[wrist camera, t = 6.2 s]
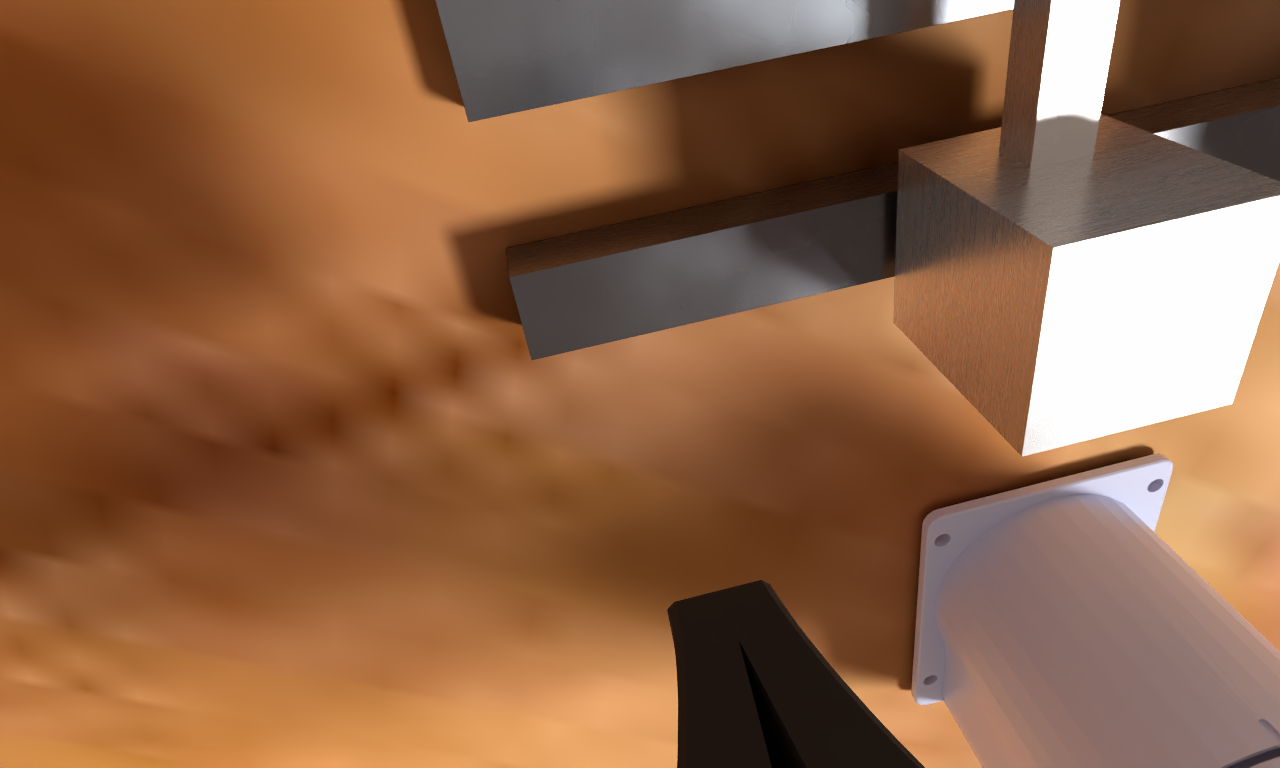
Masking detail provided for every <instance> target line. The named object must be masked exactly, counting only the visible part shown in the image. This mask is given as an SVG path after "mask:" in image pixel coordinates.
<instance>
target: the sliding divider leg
mask: <svg viewBox="0 0 1280 768" xmlns="http://www.w3.org/2000/svg"><path fill="white" fill-rule="evenodd" d="M1119 3H1120V0H1014V10H1013V19H1012V29H1011V39H1010V49H1009V58H1008V68H1007V78H1006V87H1005V97H1004V107H1003V117H1002V126H1001V127H999V128H995V129H990V130H985V131H981V132H976V133H972V134H967V135H963V136H958V137H954V138H949V139H944V140H940V141H935V142H931V143H926V144H922V145H917V146H913V147H908V148H903V149H899V161H898V193H897V225H896V257H895V290H894V322H893V323H894V324H895V325H896V326H897V327H898V328H899V329H900V330H901V331H902V332H903V333H904V334H905V335H906V336H907V337H908V338H909V339H910V340H911V341H912V342H913V343H914V344H915V346H916V347H917V348H918V349H919V350H920V351H921V352H922V353H923V354H924V355H925V356H926V357H927V358H928V359H929V360H930V361H931V362H932V363H933V364H934V365H935V366H936V367H937V368H938V370H939V371H940V372H941V373H942V374H943V375H944V376H945V377H946V378H947V379H948V380H949V381H950V382H951V383H952V384H953V385H954V386H955V387H956V388H957V389H958V390H959V391H960V392H961V394H962V395H963V396H964V397H965V398H966V399H967V400H968V401H969V402H970V403H971V404H972V405H973V406H974V407H975V408H976V409H977V410H978V411H979V412H980V413H981V414H982V415H983V416H984V418H985V419H986V420H987V421H988V422H989V423H990V424H991V425H992V426H993V427H994V428H995V429H996V430H997V431H998V432H999V433H1000V434H1001V435H1002V436H1003V437H1004V438H1005V439H1006V441H1007V442H1008V443H1009V444H1010V445H1011V446H1012V447H1013V448H1014V449H1015V450H1016V451H1017V452H1018V453H1019V454H1020V455H1021V456H1026V455H1030V454H1034V453H1038V452H1042V451H1046V450H1050V449H1054V448H1058V447H1062V446H1066V445H1070V444H1074V443H1078V442H1082V441H1086V440H1090V439H1094V438H1098V437H1102V436H1106V435H1110V434H1114V433H1118V432H1122V431H1126V430H1130V429H1134V428H1138V427H1142V426H1146V425H1150V424H1154V423H1158V422H1162V421H1166V420H1170V419H1174V418H1178V417H1182V416H1185V415H1189V414H1193V413H1197V412H1201V411H1205V410H1209V409H1213V408H1217V407H1221V406H1225V405H1229V404H1232V403H1233V400H1234V397H1235V394H1236V391H1237V388H1238V385H1239V382H1240V379H1241V376H1242V373H1243V370H1244V366H1245V363H1246V360H1247V357H1248V354H1249V351H1250V348H1251V345H1252V342H1253V339H1254V336H1255V333H1256V330H1257V327H1258V324H1259V321H1260V318H1261V315H1262V312H1263V309H1264V306H1265V303H1266V300H1267V297H1268V294H1269V291H1270V288H1271V285H1272V282H1273V279H1274V276H1275V273H1276V269H1277V266H1278V263H1279V260H1280V181H1277V180H1274V179H1272V178H1269V177H1266V176H1264V175H1261V174H1258V173H1256V172H1253V171H1251V170H1248V169H1245V168H1243V167H1240V166H1237V165H1235V164H1232V163H1229V162H1227V161H1224V160H1221V159H1219V158H1216V157H1214V156H1211V155H1208V154H1206V153H1203V152H1200V151H1198V150H1195V149H1192V148H1190V147H1187V146H1185V145H1182V144H1179V143H1177V142H1174V141H1171V140H1169V139H1166V138H1163V137H1161V136H1158V135H1156V134H1153V133H1150V132H1148V131H1145V130H1142V129H1140V128H1137V127H1134V126H1132V125H1129V124H1127V123H1124V122H1121V121H1119V120H1116V119H1113V118H1111V117H1108V116H1105V115H1103V114H1101V108H1102V102H1103V96H1104V91H1105V85H1106V79H1107V73H1108V67H1109V61H1110V55H1111V50H1112V44H1113V38H1114V32H1115V26H1116V20H1117V15H1118V9H1119Z"/></svg>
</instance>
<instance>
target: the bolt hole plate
mask: <svg viewBox="0 0 1280 768" xmlns="http://www.w3.org/2000/svg"><path fill="white" fill-rule="evenodd" d="M435 1H436V4H437V8H438V12H439V15H440V19H441V23H442V26H443V30H444V34H445V37H446V41H447V45H448V49H449V52H450V56H451V60H452V63H453V67H454V71H455V74H456V78H457V82H458V85H459V89H460V93H461V96H462V100H463V104H464V107H465V111H466V115H467V118H468V122H472V121H477V120H481V119H486V118H491V117H496V116H501V115H505V114H510V113H515V112H520V111H525V110H529V109H534V108H539V107H544V106H549V105H553V104H558V103H563V102H568V101H573V100H577V99H582V98H587V97H592V96H597V95H601V94H606V93H611V92H616V91H621V90H625V89H630V88H635V87H640V86H645V85H649V84H654V83H659V82H664V81H669V80H673V79H678V78H683V77H688V76H693V75H697V74H702V73H707V72H712V71H717V70H721V69H726V68H731V67H736V66H741V65H745V64H750V63H755V62H760V61H765V60H769V59H774V58H779V57H784V56H789V55H794V54H798V53H803V52H808V51H813V50H818V49H822V48H827V47H832V46H837V45H842V44H846V43H851V42H856V41H861V40H866V39H870V38H875V37H880V36H885V35H890V34H894V33H899V32H904V31H909V30H914V29H918V28H923V27H928V26H933V25H938V24H942V23H947V22H952V21H957V20H962V19H966V18H971V17H976V16H981V15H986V14H990V13H995V12H1000V11H1005V10H1010V9H1014V0H435Z"/></svg>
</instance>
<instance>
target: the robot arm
mask: <svg viewBox="0 0 1280 768" xmlns="http://www.w3.org/2000/svg"><path fill="white" fill-rule="evenodd" d="M1172 470H1173V464H1172V462H1171V461H1170V460H1169V459H1168V458H1167V457H1165V456H1164V455H1162V454H1152V455H1148V456H1145V457H1141V458H1137V459H1133V460H1129V461H1125V462H1121V463H1117V464H1113V465H1109V466H1105V467H1101V468H1097V469H1093V470H1089V471H1085V472H1082V473H1078V474H1074V475H1070V476H1066V477H1062V478H1058V479H1054V480H1050V481H1046V482H1042V483H1038V484H1034V485H1030V486H1026V487H1022V488H1019V489H1015V490H1011V491H1007V492H1003V493H999V494H995V495H991V496H987V497H983V498H979V499H975V500H971V501H967V502H963V503H959V504H956V505H952V506H948V507H944V508H940V509H937V510H934V511H932V512H931V513H929V514H928V515H927V516H926V518H925V519H924V521H923V524H922V538H921V553H920V569H919V584H918V599H917V614H916V630H915V645H914V660H913V676H912V691H911V693H912V696H913V697H914V699H915V701H916V703H918V704H921V705H927V704H931V703H935V702H939V701H943V700H944V702H945V703H946V705H947V707H948V709H949V710H950V712H951V714H952V715H953V717H954V719H955V721H956V722H957V724H958V726H959V728H960V729H961V731H962V733H963V734H964V736H965V738H966V740H967V741H968V743H969V745H970V746H971V748H972V750H973V752H974V753H975V755H976V757H977V758H978V760H979V762H980V764H981V765H982V767H983V768H1280V651H1279V650H1278V649H1276V648H1275V647H1274V646H1273V645H1272V644H1271V643H1270V642H1269V641H1268V640H1267V639H1266V638H1265V637H1264V636H1263V635H1262V634H1261V633H1260V632H1259V631H1258V630H1257V629H1255V628H1254V627H1253V626H1252V625H1251V624H1250V623H1249V622H1248V621H1247V620H1246V619H1245V618H1244V617H1243V616H1242V615H1241V614H1240V613H1239V612H1238V611H1237V610H1236V609H1235V608H1233V607H1232V606H1231V605H1230V604H1229V603H1228V602H1227V601H1226V600H1225V599H1224V598H1223V597H1222V596H1221V595H1220V594H1219V593H1218V592H1217V591H1216V590H1215V589H1214V588H1212V587H1211V586H1210V585H1209V584H1208V583H1207V582H1206V581H1205V580H1204V579H1203V578H1202V577H1201V576H1200V575H1199V574H1198V573H1197V572H1196V571H1195V570H1194V569H1193V568H1191V567H1190V566H1189V565H1188V564H1187V563H1186V562H1185V561H1184V560H1183V559H1182V558H1181V557H1180V556H1179V555H1178V554H1177V553H1176V552H1175V551H1174V550H1173V549H1172V548H1171V547H1169V546H1168V545H1167V544H1166V543H1165V542H1164V541H1163V540H1162V539H1161V538H1160V537H1159V536H1158V535H1157V534H1156V533H1155V532H1154V531H1155V528H1156V524H1157V521H1158V517H1159V514H1160V511H1161V507H1162V504H1163V500H1164V497H1165V494H1166V490H1167V487H1168V483H1169V480H1170V477H1171V473H1172ZM667 611H668V616H669V621H670V626H671V631H672V636H673V641H674V647H675V654H676V665H677V683H678V762H677V768H925V767H924V766H923V765H922V764H921V763H920V762H919V761H918V760H917V759H916V758H915V757H914V756H913V755H912V754H911V753H910V752H909V751H908V750H907V749H906V748H905V747H904V746H903V745H902V744H901V743H900V742H899V741H898V740H897V739H896V738H895V737H894V736H893V735H892V733H891V732H890V731H889V730H888V729H887V728H886V727H885V726H884V725H883V724H882V723H881V722H880V721H879V720H878V719H877V718H876V716H875V715H874V714H873V713H872V712H871V711H870V710H869V709H868V708H867V706H866V705H865V704H864V703H863V702H862V701H861V700H860V699H859V697H858V696H857V695H856V694H855V693H854V692H853V691H852V690H851V689H850V687H849V686H848V685H847V684H846V683H845V682H844V681H843V680H842V678H841V677H840V676H839V675H838V674H837V673H836V671H835V670H834V669H833V668H832V667H831V665H830V664H829V663H828V662H827V661H826V659H825V658H824V657H823V656H822V655H821V653H820V652H819V651H818V650H817V648H816V647H815V646H814V645H813V643H812V642H811V641H810V640H809V638H808V637H807V636H806V635H805V633H804V632H803V631H802V629H801V628H800V627H799V625H798V624H797V623H796V621H795V620H794V619H793V617H792V616H791V615H790V613H789V612H788V611H787V609H786V608H785V606H784V605H783V603H782V602H781V601H780V599H779V598H778V596H777V595H776V593H775V592H774V590H773V589H772V587H771V585H770V584H768V583H766V582H764V581H762V580H759V581H755V582H752V583H748V584H744V585H740V586H736V587H732V588H728V589H724V590H720V591H716V592H712V593H708V594H704V595H700V596H696V597H692V598H688V599H684V600H680V601H676V602H674V603H673V604H672V605H671V606H670V607H669V608H668V610H667Z"/></svg>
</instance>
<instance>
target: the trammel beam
mask: <svg viewBox="0 0 1280 768" xmlns="http://www.w3.org/2000/svg"><path fill="white" fill-rule="evenodd" d="M1108 117H1111V118H1113V119H1116V120H1119V121H1121V122H1124V123H1127V124H1129V125H1132V126H1134V127H1137V128H1140V129H1142V130H1145V131H1148V132H1150V133H1153V134H1156V135H1158V136H1161V137H1163V138H1166V139H1169V140H1171V141H1174V142H1177V143H1179V144H1182V145H1185V146H1187V147H1190V148H1192V149H1195V150H1198V151H1200V152H1203V153H1206V154H1208V155H1211V156H1214V157H1216V158H1219V159H1221V160H1224V161H1227V162H1229V163H1232V164H1235V165H1237V166H1240V167H1243V168H1245V169H1248V170H1251V171H1253V172H1256V173H1258V174H1261V175H1264V176H1266V177H1269V178H1272V179H1274V180H1277V181H1280V78H1276V79H1272V80H1267V81H1263V82H1258V83H1254V84H1249V85H1245V86H1240V87H1235V88H1231V89H1226V90H1222V91H1217V92H1213V93H1208V94H1204V95H1199V96H1195V97H1190V98H1186V99H1181V100H1176V101H1172V102H1167V103H1163V104H1158V105H1154V106H1149V107H1145V108H1140V109H1136V110H1131V111H1127V112H1122V113H1117V114H1113V115H1108ZM897 193H898V162H895V163H891V164H886V165H882V166H877V167H873V168H868V169H863V170H859V171H854V172H850V173H845V174H841V175H836V176H832V177H827V178H823V179H818V180H814V181H809V182H804V183H800V184H795V185H791V186H786V187H782V188H777V189H773V190H768V191H764V192H759V193H755V194H750V195H745V196H741V197H736V198H732V199H727V200H723V201H718V202H714V203H709V204H705V205H700V206H696V207H691V208H687V209H682V210H677V211H673V212H668V213H664V214H659V215H655V216H650V217H646V218H641V219H637V220H632V221H628V222H623V223H618V224H614V225H609V226H605V227H600V228H596V229H591V230H587V231H582V232H578V233H573V234H569V235H564V236H560V237H555V238H550V239H546V240H541V241H537V242H532V243H528V244H523V245H519V246H514V247H510V248H506V255H507V263H508V272H509V279H510V282H511V286H512V290H513V293H514V297H515V301H516V304H517V308H518V312H519V315H520V319H521V323H522V326H523V330H524V334H525V337H526V341H527V344H528V348H529V352H530V355H531V359H532V360H534V359H539V358H543V357H547V356H552V355H556V354H560V353H565V352H569V351H573V350H578V349H582V348H586V347H591V346H595V345H599V344H604V343H608V342H612V341H617V340H621V339H625V338H630V337H634V336H638V335H643V334H647V333H651V332H656V331H660V330H664V329H669V328H673V327H677V326H682V325H686V324H690V323H695V322H699V321H703V320H708V319H712V318H716V317H721V316H725V315H729V314H734V313H738V312H742V311H747V310H751V309H755V308H759V307H764V306H768V305H772V304H777V303H781V302H785V301H790V300H794V299H798V298H803V297H807V296H811V295H816V294H820V293H824V292H829V291H833V290H837V289H842V288H846V287H850V286H855V285H859V284H863V283H868V282H872V281H876V280H881V279H885V278H889V277H894V276H895V257H896V225H897Z"/></svg>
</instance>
